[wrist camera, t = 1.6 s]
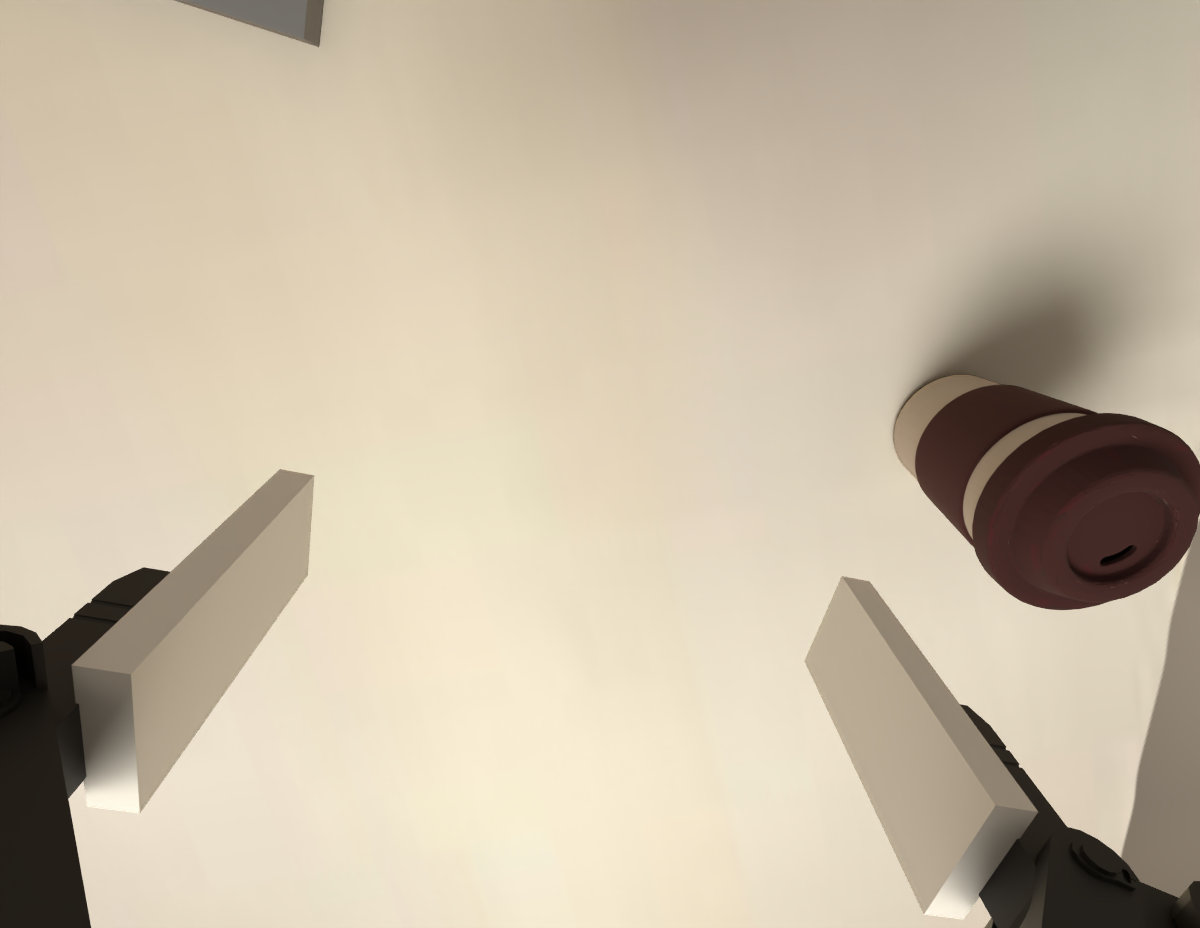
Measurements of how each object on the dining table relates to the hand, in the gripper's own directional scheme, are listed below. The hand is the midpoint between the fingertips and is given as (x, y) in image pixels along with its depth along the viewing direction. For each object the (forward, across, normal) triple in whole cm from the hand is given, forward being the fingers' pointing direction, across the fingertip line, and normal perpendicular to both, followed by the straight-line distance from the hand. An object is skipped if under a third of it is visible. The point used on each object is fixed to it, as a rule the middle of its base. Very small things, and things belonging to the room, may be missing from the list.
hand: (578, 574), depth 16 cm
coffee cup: (+26, +25, 0) cm, 36 cm away
